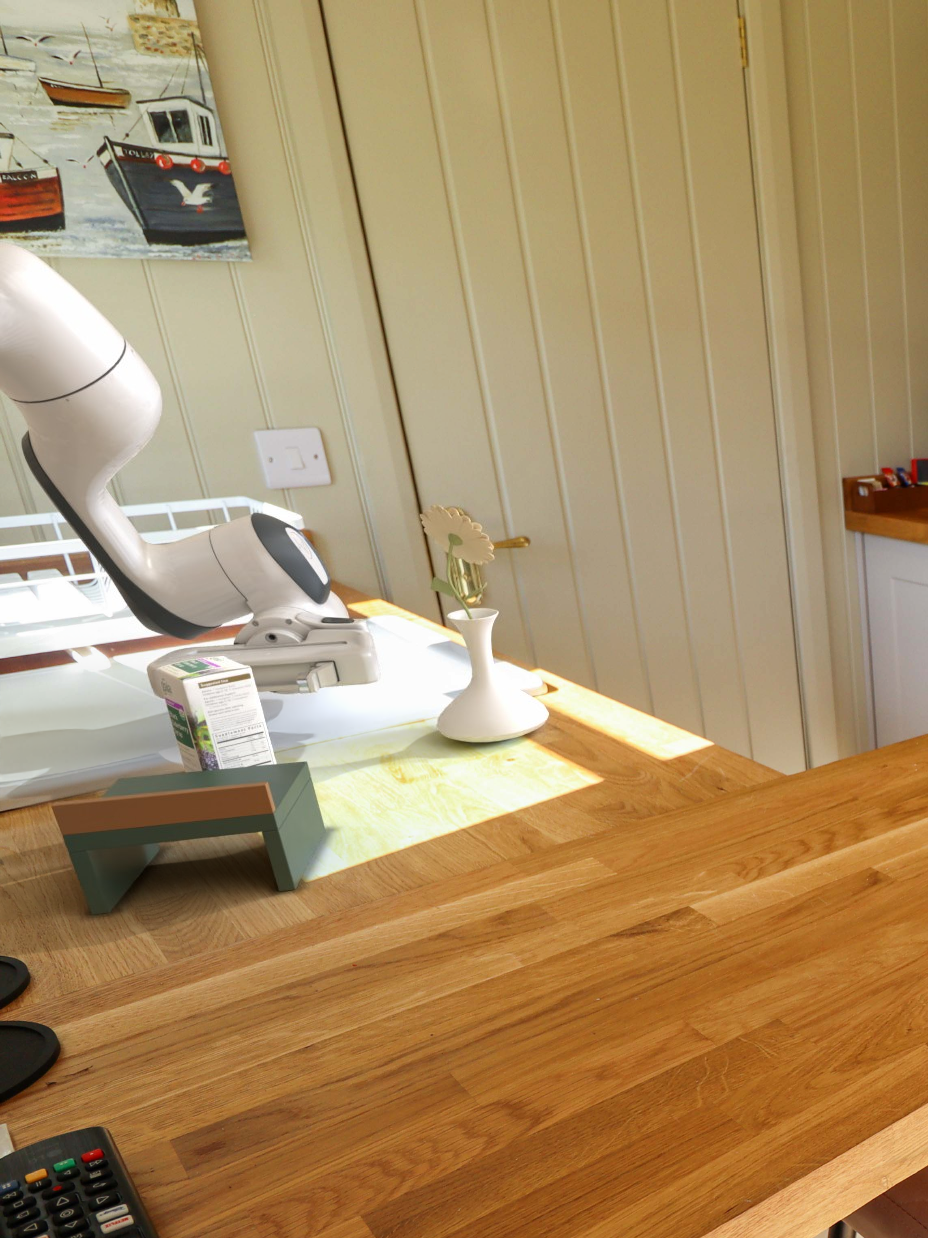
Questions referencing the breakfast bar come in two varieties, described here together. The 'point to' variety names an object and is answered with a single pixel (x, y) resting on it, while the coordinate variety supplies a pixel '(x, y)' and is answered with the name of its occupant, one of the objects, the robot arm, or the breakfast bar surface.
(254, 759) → the syrup box
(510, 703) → the flower in vase
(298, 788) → the shelf
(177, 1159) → the breakfast bar surface
